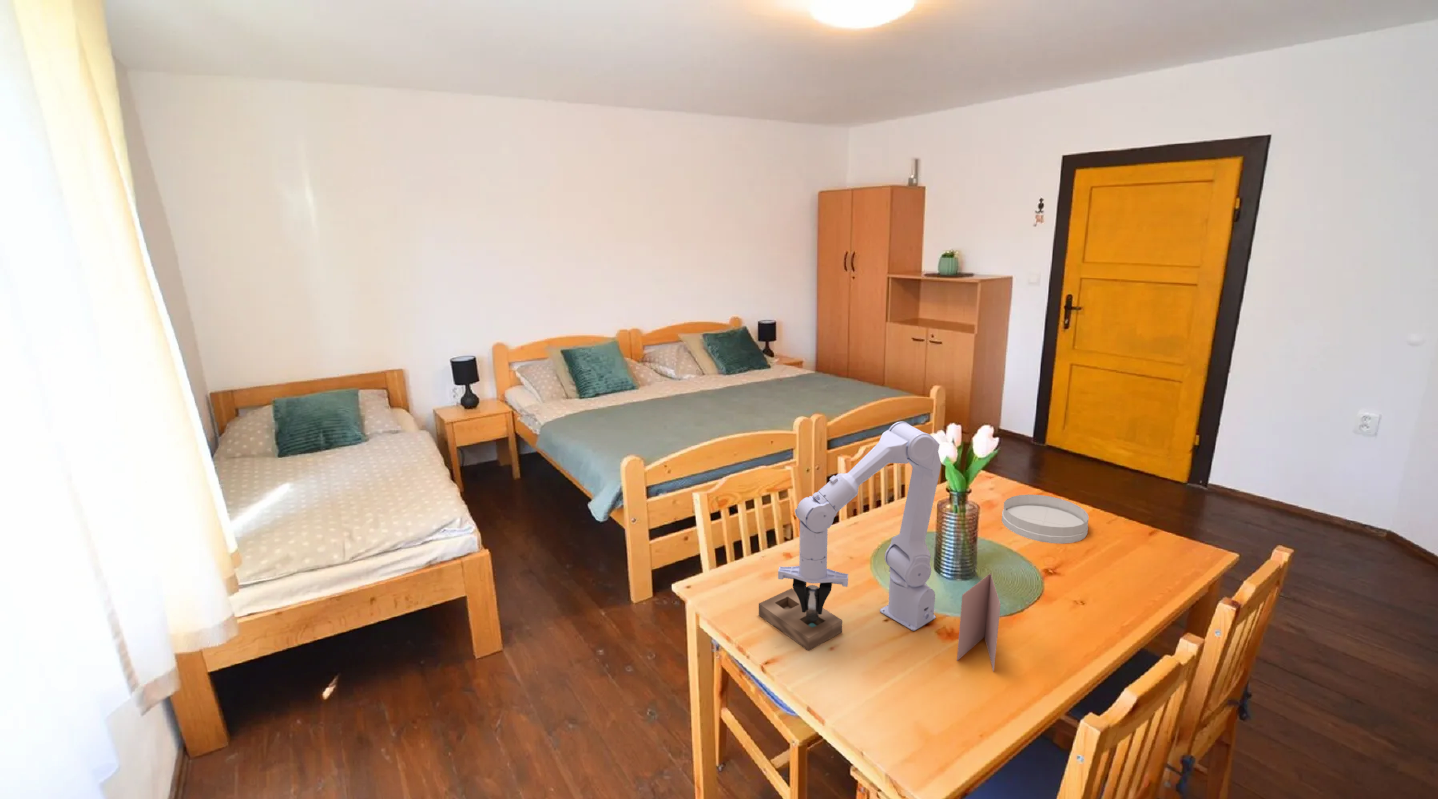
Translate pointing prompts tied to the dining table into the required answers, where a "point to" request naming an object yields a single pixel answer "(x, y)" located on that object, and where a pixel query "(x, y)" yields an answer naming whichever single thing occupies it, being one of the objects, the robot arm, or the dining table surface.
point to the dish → (1045, 519)
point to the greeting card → (979, 618)
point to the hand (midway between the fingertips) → (812, 610)
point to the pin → (812, 603)
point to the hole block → (799, 620)
